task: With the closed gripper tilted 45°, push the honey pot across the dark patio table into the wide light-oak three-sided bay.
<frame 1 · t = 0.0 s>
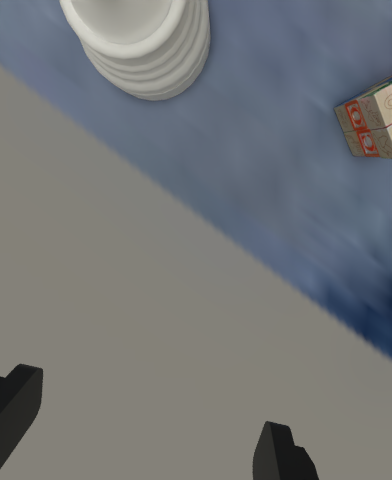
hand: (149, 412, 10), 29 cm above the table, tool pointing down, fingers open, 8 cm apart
honey pot: (153, 38, 33), on the table
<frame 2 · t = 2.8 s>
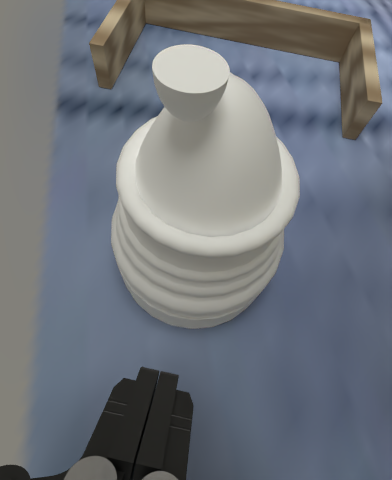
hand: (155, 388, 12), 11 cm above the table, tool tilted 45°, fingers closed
honey pot: (193, 256, 27), on the table
oak bay: (229, 96, 37), on the table
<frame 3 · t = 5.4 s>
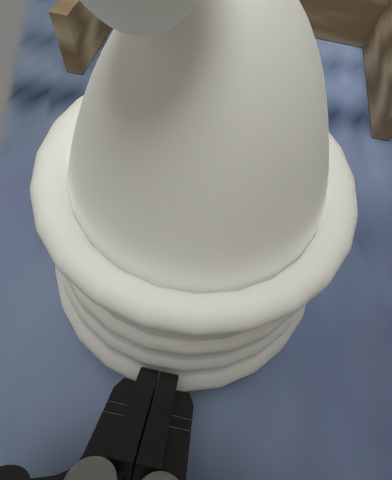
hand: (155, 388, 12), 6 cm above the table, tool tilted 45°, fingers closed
honey pot: (182, 284, 20), on the table, touching gripper
oak bay: (230, 86, 29), on the table
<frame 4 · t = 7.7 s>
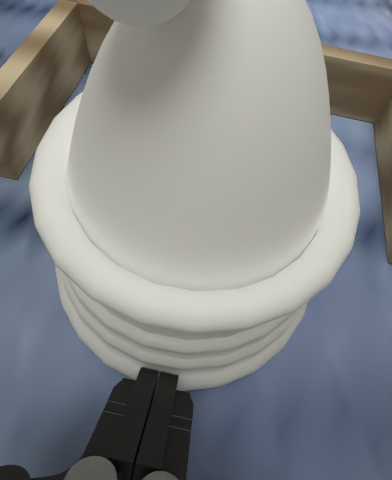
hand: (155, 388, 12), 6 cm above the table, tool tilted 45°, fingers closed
honey pot: (183, 283, 20), on the table, touching gripper
oak bay: (207, 189, 23), on the table
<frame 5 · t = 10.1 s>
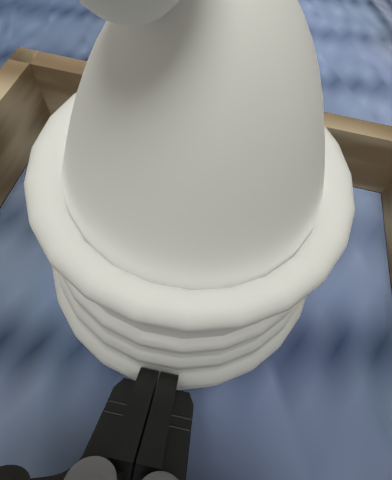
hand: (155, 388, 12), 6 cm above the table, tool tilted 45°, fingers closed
honey pot: (181, 282, 20), on the table, touching gripper
oak bay: (184, 292, 19), on the table
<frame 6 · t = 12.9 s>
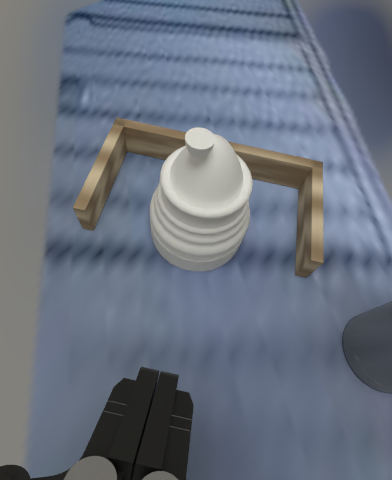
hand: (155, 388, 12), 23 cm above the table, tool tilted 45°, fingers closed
honey pot: (196, 230, 42), on the table
oak bay: (198, 234, 42), on the table
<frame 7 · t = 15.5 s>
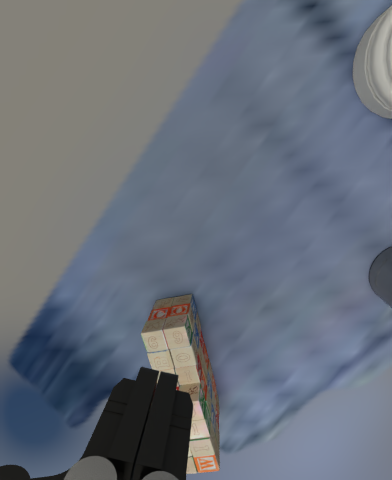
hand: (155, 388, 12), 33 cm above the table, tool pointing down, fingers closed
stack of blocks: (189, 351, 50), on the table
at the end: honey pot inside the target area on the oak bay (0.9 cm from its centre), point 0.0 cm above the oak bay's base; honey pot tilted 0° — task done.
